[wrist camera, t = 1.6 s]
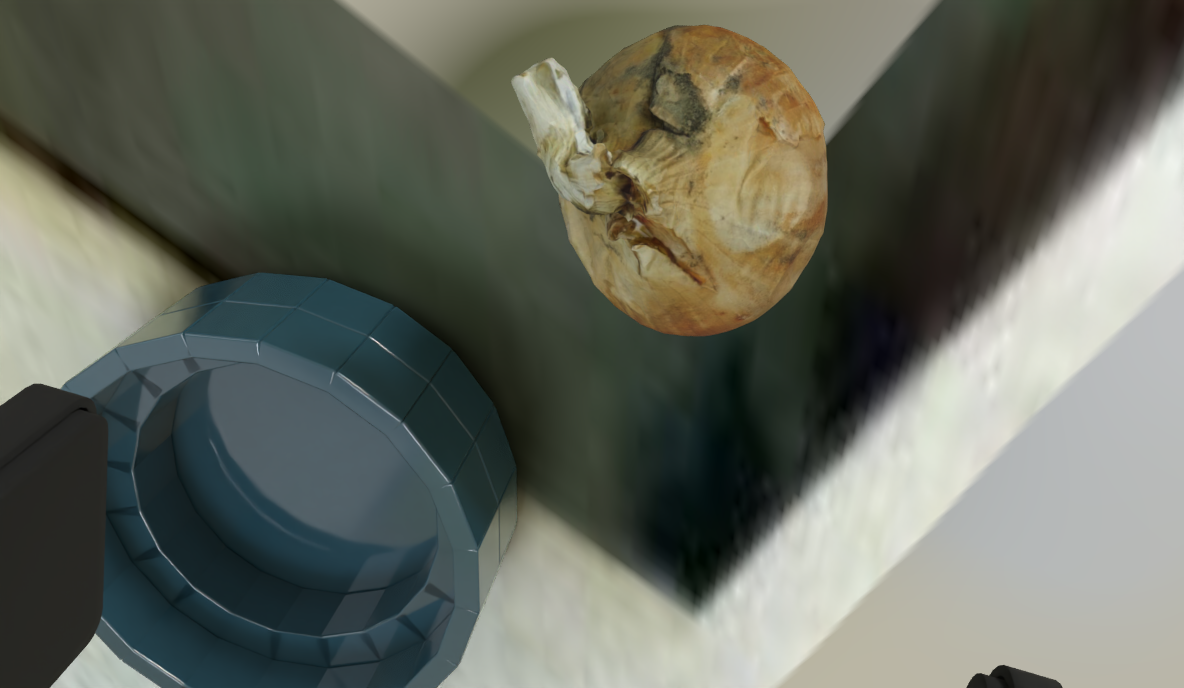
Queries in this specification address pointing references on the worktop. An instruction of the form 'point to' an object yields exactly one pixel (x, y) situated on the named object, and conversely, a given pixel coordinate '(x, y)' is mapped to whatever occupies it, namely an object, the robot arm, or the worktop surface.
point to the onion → (684, 175)
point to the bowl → (296, 491)
